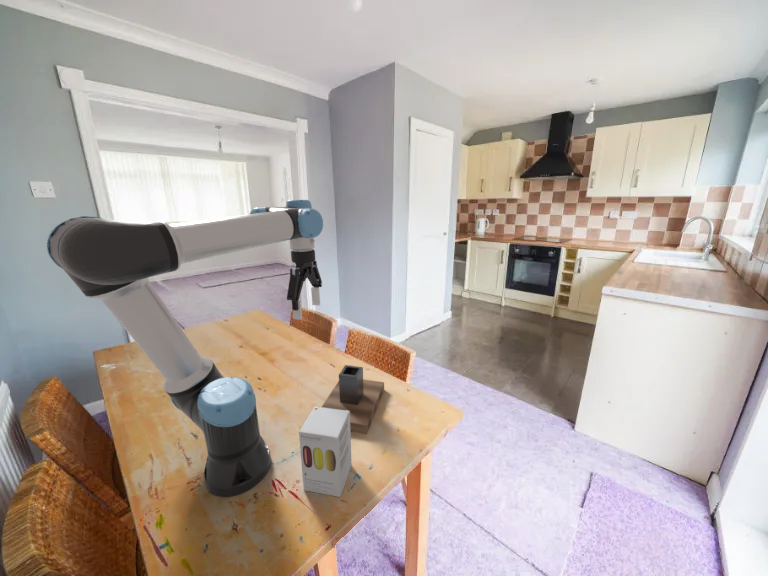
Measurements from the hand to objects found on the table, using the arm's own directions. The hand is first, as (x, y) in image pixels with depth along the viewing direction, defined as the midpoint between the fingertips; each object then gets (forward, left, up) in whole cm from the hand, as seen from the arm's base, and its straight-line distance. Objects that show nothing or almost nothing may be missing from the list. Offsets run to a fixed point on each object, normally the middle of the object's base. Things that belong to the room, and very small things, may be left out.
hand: (307, 311), depth 105 cm
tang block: (-8, -18, -29) cm, 35 cm away
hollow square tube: (-8, -18, -26) cm, 32 cm away
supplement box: (-35, -21, -29) cm, 50 cm away
